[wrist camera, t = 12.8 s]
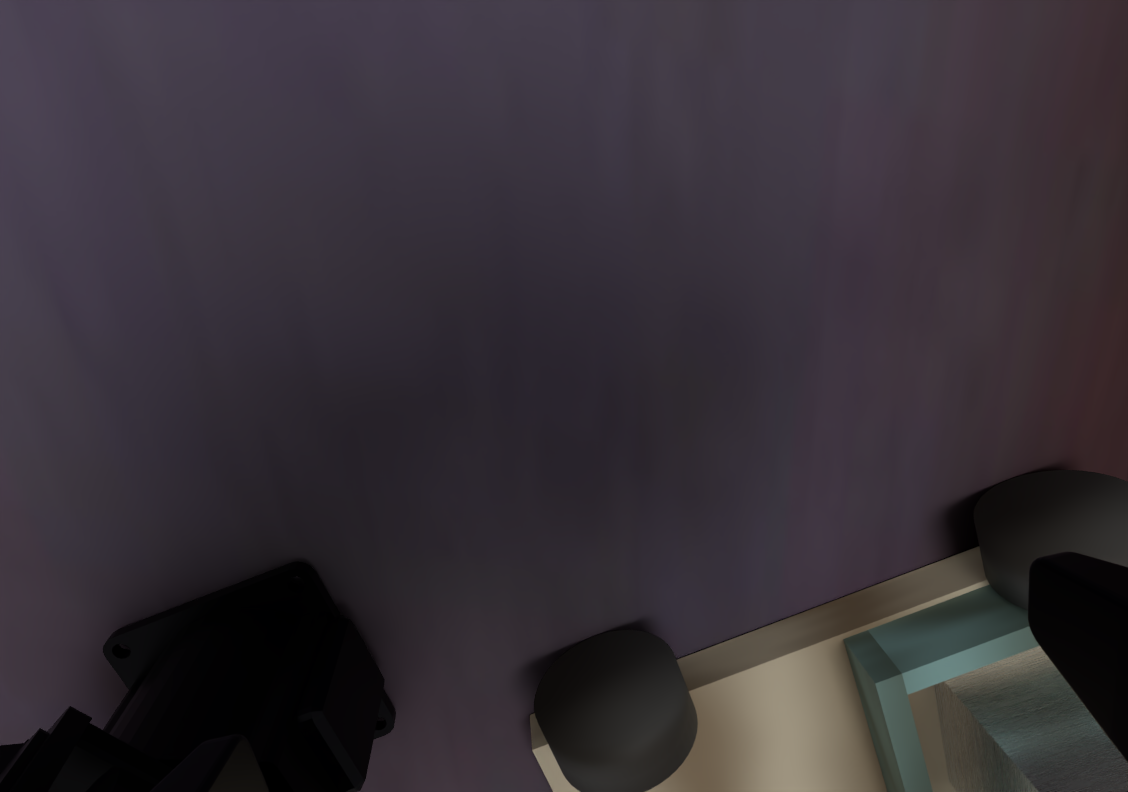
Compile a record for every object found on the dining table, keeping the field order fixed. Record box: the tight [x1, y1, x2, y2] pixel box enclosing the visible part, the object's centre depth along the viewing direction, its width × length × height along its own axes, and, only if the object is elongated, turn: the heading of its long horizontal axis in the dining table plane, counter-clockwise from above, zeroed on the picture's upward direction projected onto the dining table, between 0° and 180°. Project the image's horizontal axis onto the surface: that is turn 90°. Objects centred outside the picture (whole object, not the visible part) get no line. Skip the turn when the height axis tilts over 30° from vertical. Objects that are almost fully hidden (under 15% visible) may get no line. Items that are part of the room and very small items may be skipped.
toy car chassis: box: [530, 470, 1128, 792], centre depth 24 cm, size 20×14×4 cm
